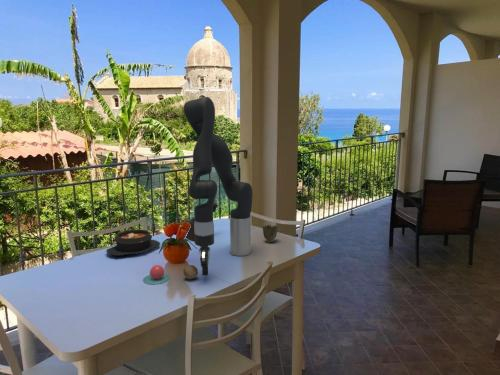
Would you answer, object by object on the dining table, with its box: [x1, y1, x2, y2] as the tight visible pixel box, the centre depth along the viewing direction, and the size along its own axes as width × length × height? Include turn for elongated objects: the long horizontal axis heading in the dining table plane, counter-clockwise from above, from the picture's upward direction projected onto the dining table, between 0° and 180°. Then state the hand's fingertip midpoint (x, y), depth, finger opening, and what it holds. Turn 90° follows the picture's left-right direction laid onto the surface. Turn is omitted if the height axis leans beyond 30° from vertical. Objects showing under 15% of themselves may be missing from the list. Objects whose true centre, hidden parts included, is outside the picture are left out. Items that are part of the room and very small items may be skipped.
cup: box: [262, 224, 278, 244], centre depth 192 cm, size 8×7×8 cm
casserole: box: [105, 229, 161, 257], centre depth 180 cm, size 25×19×8 cm
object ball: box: [149, 264, 165, 280], centre depth 149 cm, size 6×6×6 cm
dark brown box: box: [183, 202, 219, 243], centre depth 200 cm, size 16×11×18 cm
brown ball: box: [183, 264, 199, 281], centre depth 149 cm, size 6×6×6 cm
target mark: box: [142, 273, 170, 286], centre depth 149 cm, size 10×10×1 cm
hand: (205, 274), depth 150 cm, fingers closed
